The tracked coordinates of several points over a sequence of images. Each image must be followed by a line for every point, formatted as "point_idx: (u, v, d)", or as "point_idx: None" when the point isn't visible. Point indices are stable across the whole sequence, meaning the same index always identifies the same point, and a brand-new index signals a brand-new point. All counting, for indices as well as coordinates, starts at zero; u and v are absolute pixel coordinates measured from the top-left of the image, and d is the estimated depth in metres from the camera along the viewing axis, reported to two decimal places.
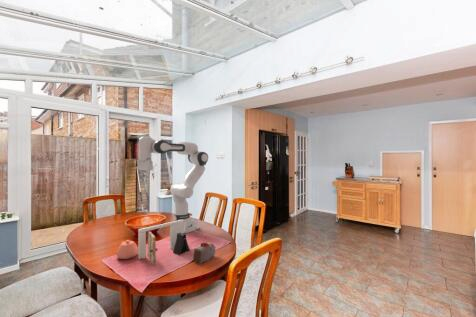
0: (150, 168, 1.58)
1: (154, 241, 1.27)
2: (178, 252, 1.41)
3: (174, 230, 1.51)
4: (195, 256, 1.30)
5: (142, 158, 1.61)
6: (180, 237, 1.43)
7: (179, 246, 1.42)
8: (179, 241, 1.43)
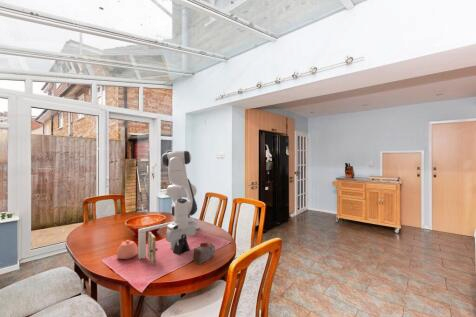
0: None
1: (154, 241, 1.27)
2: (178, 252, 1.41)
3: None
4: (195, 256, 1.30)
5: (188, 224, 1.45)
6: None
7: (179, 246, 1.42)
8: (179, 241, 1.43)
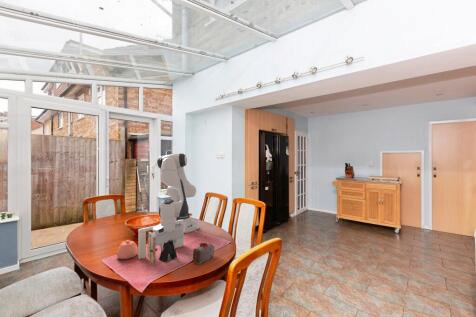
0: None
1: (154, 241, 1.27)
2: (164, 259, 1.31)
3: None
4: (195, 256, 1.30)
5: (174, 227, 1.35)
6: (166, 243, 1.34)
7: (165, 253, 1.32)
8: (165, 247, 1.34)
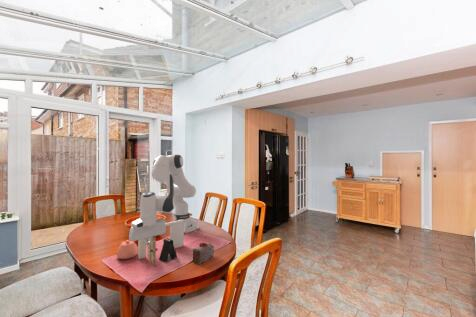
0: None
1: (154, 241, 1.27)
2: (164, 259, 1.31)
3: (174, 230, 1.51)
4: (194, 257, 1.30)
5: (155, 221, 1.27)
6: (167, 243, 1.34)
7: (165, 253, 1.32)
8: (165, 247, 1.34)
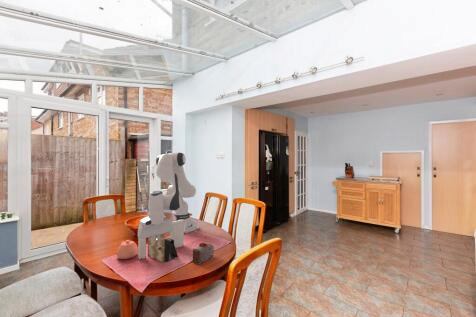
0: None
1: (163, 238, 1.31)
2: (165, 259, 1.32)
3: (174, 230, 1.51)
4: (194, 257, 1.30)
5: (163, 220, 1.30)
6: (167, 242, 1.34)
7: (166, 252, 1.33)
8: (166, 247, 1.34)
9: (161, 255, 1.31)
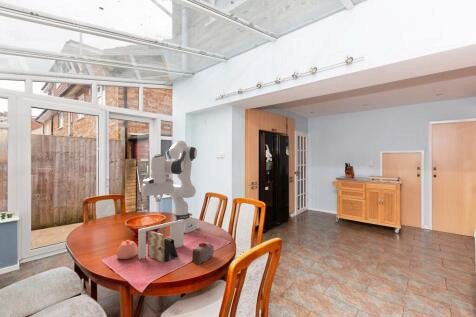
0: None
1: (163, 238, 1.31)
2: (165, 259, 1.32)
3: (174, 230, 1.51)
4: (194, 257, 1.30)
5: (165, 180, 1.40)
6: (168, 242, 1.34)
7: (166, 252, 1.33)
8: (166, 247, 1.34)
9: (161, 255, 1.31)
